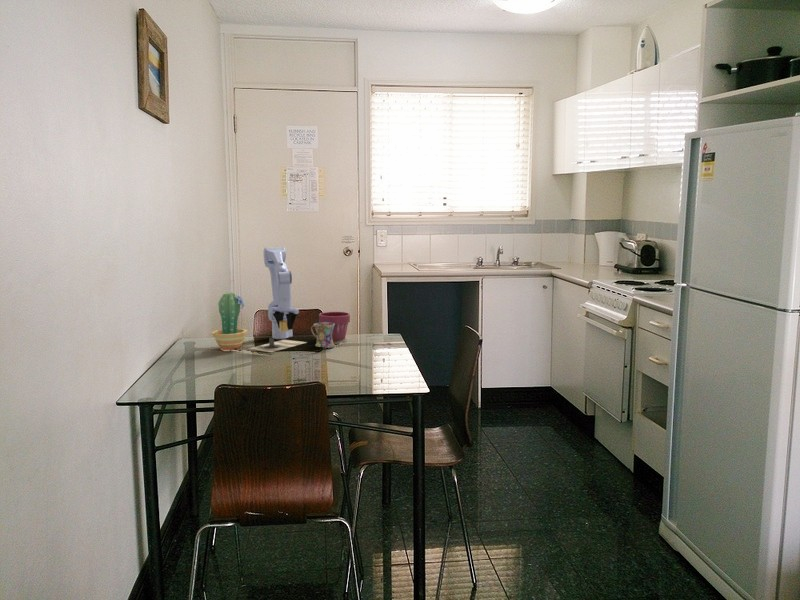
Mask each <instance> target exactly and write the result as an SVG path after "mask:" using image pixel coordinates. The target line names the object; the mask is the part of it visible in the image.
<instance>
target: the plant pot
mask: <svg viewBox="0 0 800 600" xmlns="http://www.w3.org/2000/svg"><path fill="white" fill-rule="evenodd" d="M350 321H351V315H350V313H349V312H346V311H327V312H326V311H324V312H320V313H319V314H318V323H321V322H330V323H334V324H335V325H334V328H333V332H332V340H333V341H341V340H345V339H346V336H347V331H348V326H349V323H350Z"/></svg>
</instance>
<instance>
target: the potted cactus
mask: <svg viewBox="0 0 800 600" xmlns="http://www.w3.org/2000/svg"><path fill="white" fill-rule="evenodd" d="M217 304H218V313H219V316H220V318H221V329H216V330H212V331H211V334H212V337H213V338H214V339H215V342H216V344H217V345H218V347H219V349H220V348H221V349H223V350H237V349H239V348H240V347H241V346H242V345H243V343H244V341H245V339H246V336H247V335H248V330H247V329H244V328H238V321H239V315H240V312H241V310H243V309H244V307H245V301H244V299H243V298H242V297H241V295H236V294H235V293H233V292H226V293H223V294H222V296H221V297H220V299H219V300H218V302H217ZM237 351H238V350H237Z"/></svg>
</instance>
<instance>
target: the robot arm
mask: <svg viewBox="0 0 800 600" xmlns="http://www.w3.org/2000/svg"><path fill="white" fill-rule="evenodd" d="M286 258H287V252H286V248H285V246H282V247H264V249H263V262H264V266H265V267H266V268H268V271H269V275H270V282H271V293H272V301H271V302H270V303H269V304H268V306H267V317H268V320H269V321H270V322H271V328H272V329H271V332H272V334H271V335H272V336H271V338H274V340H286V339H287V338H292V337H293V336H294V335H293V328H294V323H295V320H296V319H297V316H298V314H300V309H299V308H294V307H292V289H291V288H292V286H291V285H292V283H293V282H292V281H293V276H292V271H291V270H289V269H288V266H287V263H286ZM283 320H287V322H288V329H289V330H290V329H291V330H290V331H280V323H279V321H283Z"/></svg>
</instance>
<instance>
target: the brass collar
mask: <svg viewBox="0 0 800 600" xmlns="http://www.w3.org/2000/svg"><path fill="white" fill-rule="evenodd" d="M279 323H280V331H290V330H291V329H290V330H289V329H288V322H287V320H283V321H279Z"/></svg>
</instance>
